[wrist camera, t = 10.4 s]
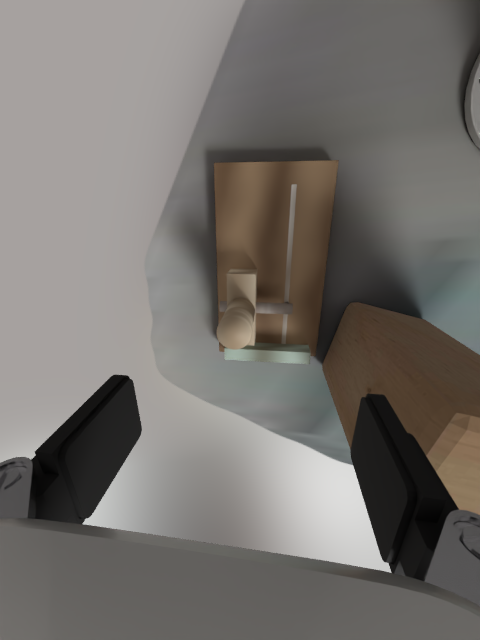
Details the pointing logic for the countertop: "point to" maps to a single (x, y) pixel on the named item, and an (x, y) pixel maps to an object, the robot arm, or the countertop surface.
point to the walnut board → (276, 248)
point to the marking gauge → (243, 309)
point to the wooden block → (412, 389)
